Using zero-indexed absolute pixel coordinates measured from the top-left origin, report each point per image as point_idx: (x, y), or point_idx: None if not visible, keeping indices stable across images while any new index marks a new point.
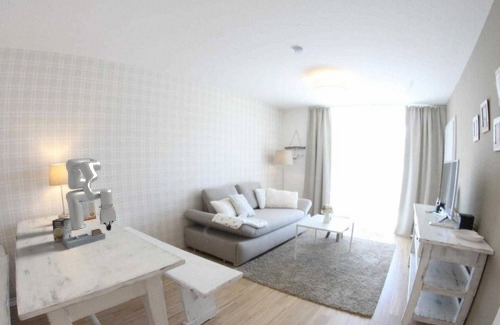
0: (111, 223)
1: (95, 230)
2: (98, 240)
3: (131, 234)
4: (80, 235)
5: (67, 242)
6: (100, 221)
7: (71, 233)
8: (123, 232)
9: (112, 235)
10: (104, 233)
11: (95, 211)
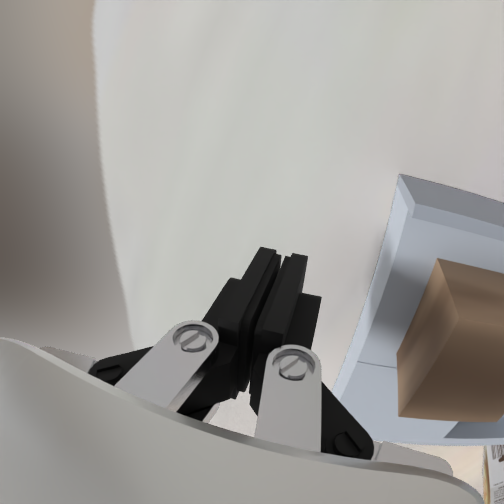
0: (165, 343)
1: (498, 377)
2: (485, 198)
3: (99, 13)
4: (486, 434)
5: None
6: None
7: (491, 480)
8: (129, 177)
9: (268, 201)
10: (417, 214)
11: None
